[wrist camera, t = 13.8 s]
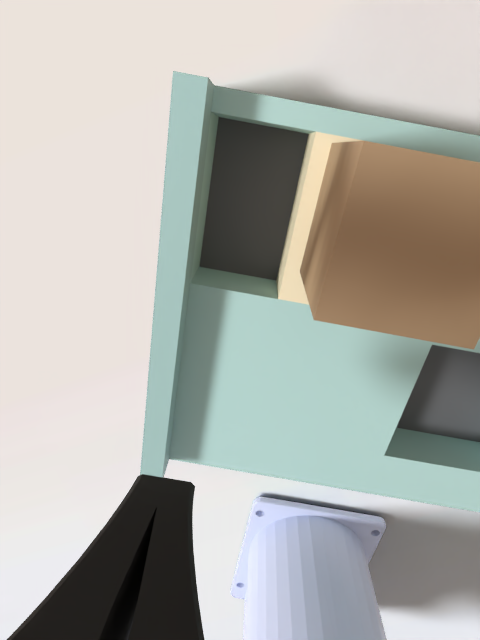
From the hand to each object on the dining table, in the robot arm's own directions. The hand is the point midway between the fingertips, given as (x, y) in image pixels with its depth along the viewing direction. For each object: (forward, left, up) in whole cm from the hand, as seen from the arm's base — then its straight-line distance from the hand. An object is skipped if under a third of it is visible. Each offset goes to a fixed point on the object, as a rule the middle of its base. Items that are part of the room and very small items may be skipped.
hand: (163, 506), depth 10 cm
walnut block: (+7, -5, -7) cm, 11 cm away
